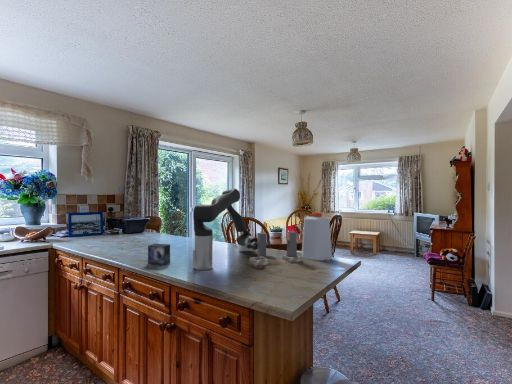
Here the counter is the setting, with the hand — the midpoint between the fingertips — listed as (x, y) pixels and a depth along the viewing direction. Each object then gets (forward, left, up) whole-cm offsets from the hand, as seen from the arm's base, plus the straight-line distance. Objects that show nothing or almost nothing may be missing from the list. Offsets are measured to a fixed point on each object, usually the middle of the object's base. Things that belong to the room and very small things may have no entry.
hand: (262, 247), depth 162 cm
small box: (-53, -25, -8) cm, 59 cm away
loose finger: (-1, +1, -8) cm, 8 cm away
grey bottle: (+29, +15, -8) cm, 34 cm away
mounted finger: (+17, +1, -7) cm, 18 cm away
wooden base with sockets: (+9, -5, -8) cm, 13 cm away
